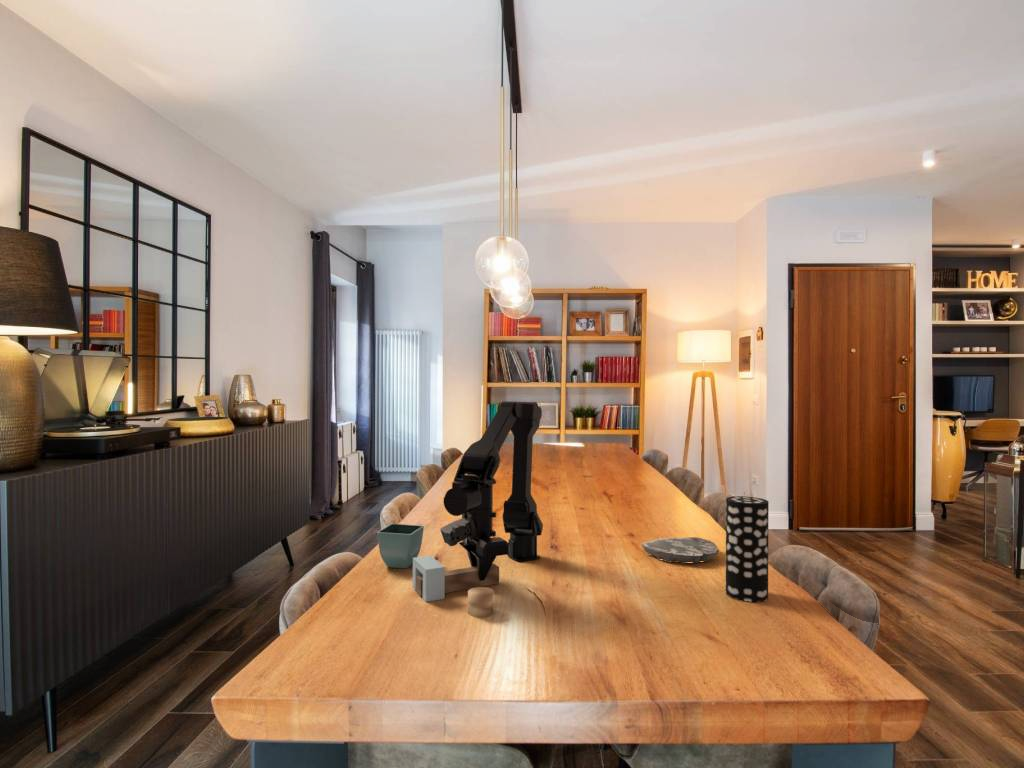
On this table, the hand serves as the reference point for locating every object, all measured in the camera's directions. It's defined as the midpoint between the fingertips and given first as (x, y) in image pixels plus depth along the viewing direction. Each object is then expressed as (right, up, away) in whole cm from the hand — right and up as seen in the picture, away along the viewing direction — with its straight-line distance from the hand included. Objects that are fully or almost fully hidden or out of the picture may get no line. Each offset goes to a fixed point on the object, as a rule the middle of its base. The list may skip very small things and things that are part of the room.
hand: (479, 578), depth 127 cm
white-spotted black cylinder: (+57, -2, -5) cm, 57 cm away
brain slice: (+52, -2, +23) cm, 57 cm away
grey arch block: (-10, -1, -5) cm, 12 cm away
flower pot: (-20, -2, +14) cm, 24 cm away
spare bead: (+1, -2, -15) cm, 15 cm away
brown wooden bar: (-4, -1, -2) cm, 5 cm away
